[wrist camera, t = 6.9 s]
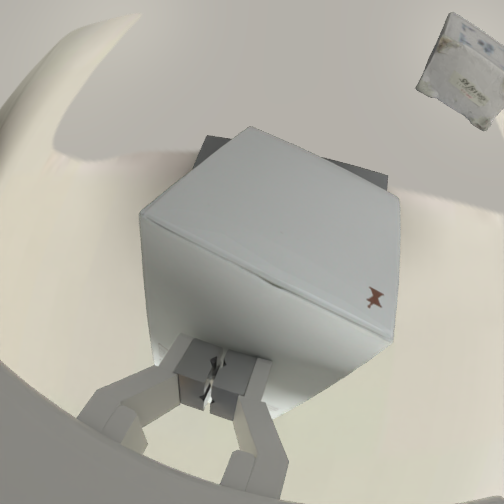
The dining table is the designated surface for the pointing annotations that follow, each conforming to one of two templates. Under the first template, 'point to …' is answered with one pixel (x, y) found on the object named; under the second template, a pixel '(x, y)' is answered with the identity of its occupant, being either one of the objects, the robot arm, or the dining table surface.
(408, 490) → the dining table surface
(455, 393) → the dining table surface
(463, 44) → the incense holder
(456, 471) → the dining table surface
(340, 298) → the supplement box
